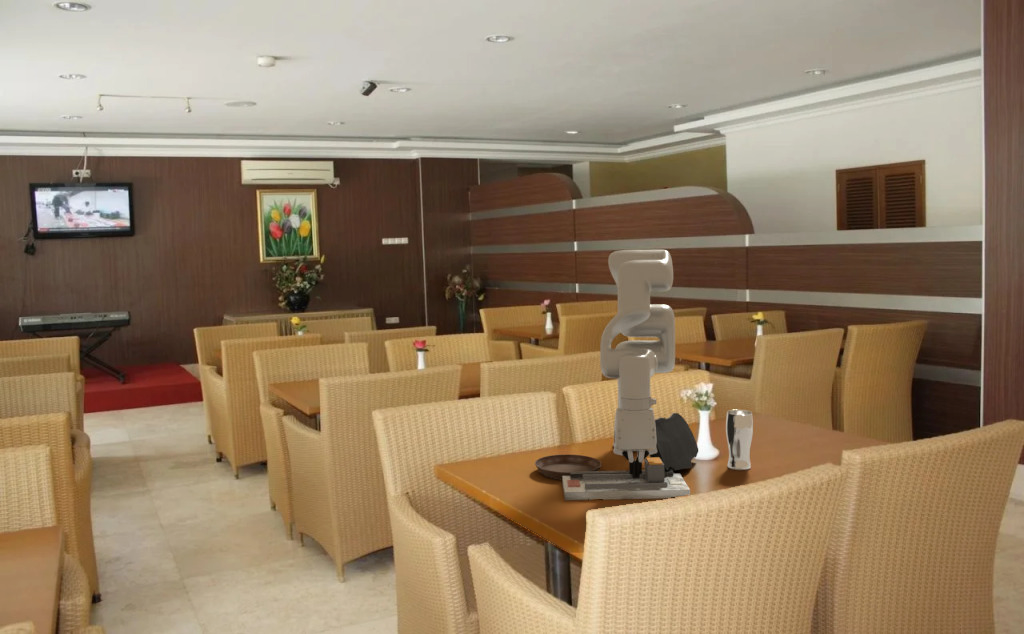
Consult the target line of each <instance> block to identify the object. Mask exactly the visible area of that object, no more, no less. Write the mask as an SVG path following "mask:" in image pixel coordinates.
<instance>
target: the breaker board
mask: <svg viewBox="0 0 1024 634" xmlns="http://www.w3.org/2000/svg"><path fill="white" fill-rule="evenodd" d="M561 483H562V490H563V495H564V501H592V500H593V499H603V500H643V499H645V500H651V499H652V500H653V499H656V500H657V499H672V498H671V497H678V496H685V495H690V496H691V489H690V487H689V485H688V484H687V482H686V481H685V479H684V477H682V474H681V473H674V471H672V470H665V471H664V482H646V480H645V469H642V474H640V478H633V477H632V474H629V470H598V471H579V472H570V476H562V480H561ZM588 499H589V500H588Z"/></svg>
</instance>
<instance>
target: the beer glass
mask: <svg viewBox="0 0 1024 634" xmlns="http://www.w3.org/2000/svg"><path fill="white" fill-rule="evenodd" d="M753 426H754V423H753V412H752V411H750V410H747V409H731V410H728V411H726V420H725V434H726V440H727V448H728V461H727V468H729V470H734V471H747V470H750V469H751V467H752V466H751V465H752V464H751V459H750V458H751V457H750V450H751V444H752V440H753V432H754V431H753V430H754V427H753Z"/></svg>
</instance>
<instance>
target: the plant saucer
mask: <svg viewBox="0 0 1024 634" xmlns="http://www.w3.org/2000/svg"><path fill="white" fill-rule="evenodd" d="M534 464H535V465H534V466H535V467H536V468H537V470H538V471H539V472H540V473H541V474H542V475H543V476H545V477H547V478H548V479H552V478H553V480H558V479H561V480H560V481H562V476H570V472H579V471H600V470H599V469H600V468H601V466H602V461H600V460H599V459H597V458H594V457H592V456H587V455H581V454H580V455H579V454H554V455H553V454H552V455H547V456H543V457H540V458H538V459H536V460H535V461H534Z"/></svg>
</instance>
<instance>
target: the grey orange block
mask: <svg viewBox="0 0 1024 634" xmlns="http://www.w3.org/2000/svg"><path fill="white" fill-rule="evenodd" d="M644 470H645V480H646V482H664V463H663V462H662V460H661V458H659V457H652V458H650V457H646V458H645V459H644Z"/></svg>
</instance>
